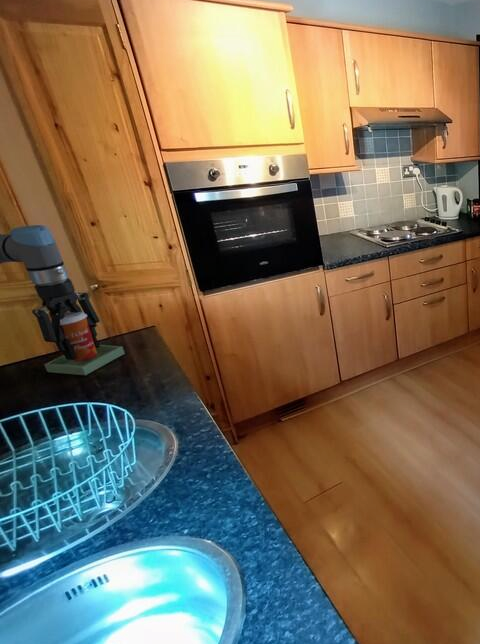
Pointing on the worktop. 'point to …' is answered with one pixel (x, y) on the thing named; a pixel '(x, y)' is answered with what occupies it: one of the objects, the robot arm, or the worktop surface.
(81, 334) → the paper cup
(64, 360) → the tray
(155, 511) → the worktop surface
